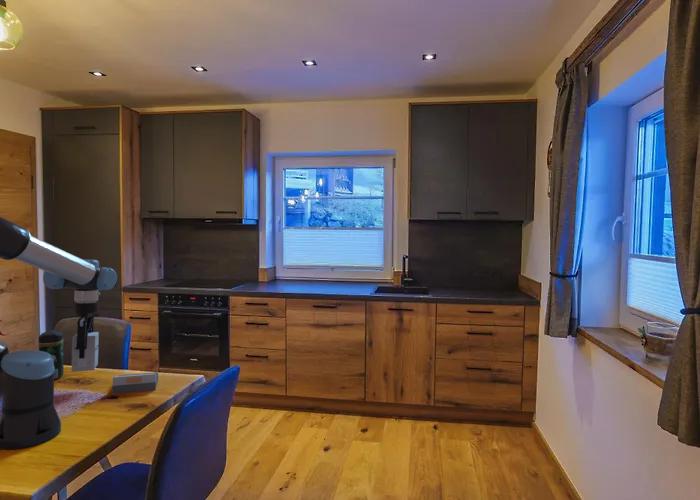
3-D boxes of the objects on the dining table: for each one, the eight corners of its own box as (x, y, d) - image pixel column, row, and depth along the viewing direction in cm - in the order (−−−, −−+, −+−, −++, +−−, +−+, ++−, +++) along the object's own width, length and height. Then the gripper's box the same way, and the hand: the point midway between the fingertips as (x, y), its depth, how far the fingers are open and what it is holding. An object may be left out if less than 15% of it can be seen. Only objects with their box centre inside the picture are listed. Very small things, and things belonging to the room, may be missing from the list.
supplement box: (94, 370, 153) (95, 335, 153) (70, 372, 150) (71, 336, 150) (98, 364, 160) (99, 331, 159) (75, 366, 157) (76, 332, 157)
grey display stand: (155, 390, 156) (155, 374, 156) (112, 394, 151) (112, 377, 151) (158, 379, 167) (158, 364, 167) (118, 383, 163) (118, 367, 162)
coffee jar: (41, 375, 169) (41, 329, 169) (64, 372, 173) (64, 327, 173) (36, 382, 161) (36, 334, 160) (61, 380, 165) (61, 332, 164)
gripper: (91, 305, 146) (90, 370, 146) (104, 298, 165) (102, 356, 165) (66, 305, 144) (64, 372, 144) (82, 298, 163) (80, 357, 163)
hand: (85, 363), depth 155 cm, fingers closed on supplement box, 7 cm apart
